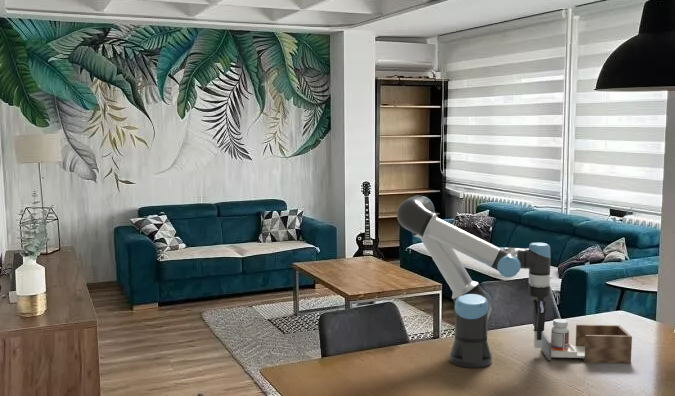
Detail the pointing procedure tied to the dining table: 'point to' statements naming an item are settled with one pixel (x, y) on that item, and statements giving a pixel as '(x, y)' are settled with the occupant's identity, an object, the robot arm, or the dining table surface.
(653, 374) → the dining table surface
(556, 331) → the pill bottle
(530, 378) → the dining table surface
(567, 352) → the tray
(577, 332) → the wooden box
